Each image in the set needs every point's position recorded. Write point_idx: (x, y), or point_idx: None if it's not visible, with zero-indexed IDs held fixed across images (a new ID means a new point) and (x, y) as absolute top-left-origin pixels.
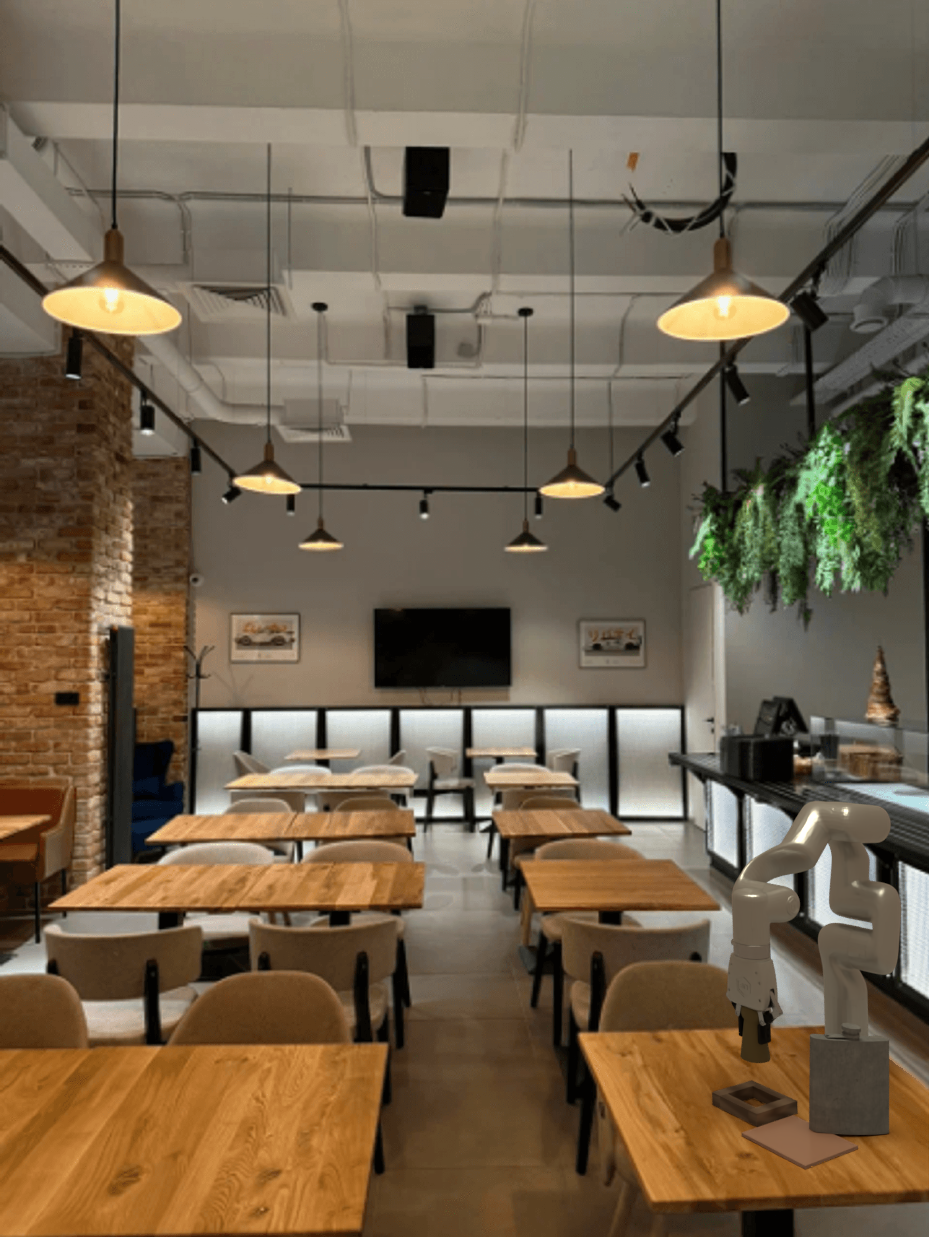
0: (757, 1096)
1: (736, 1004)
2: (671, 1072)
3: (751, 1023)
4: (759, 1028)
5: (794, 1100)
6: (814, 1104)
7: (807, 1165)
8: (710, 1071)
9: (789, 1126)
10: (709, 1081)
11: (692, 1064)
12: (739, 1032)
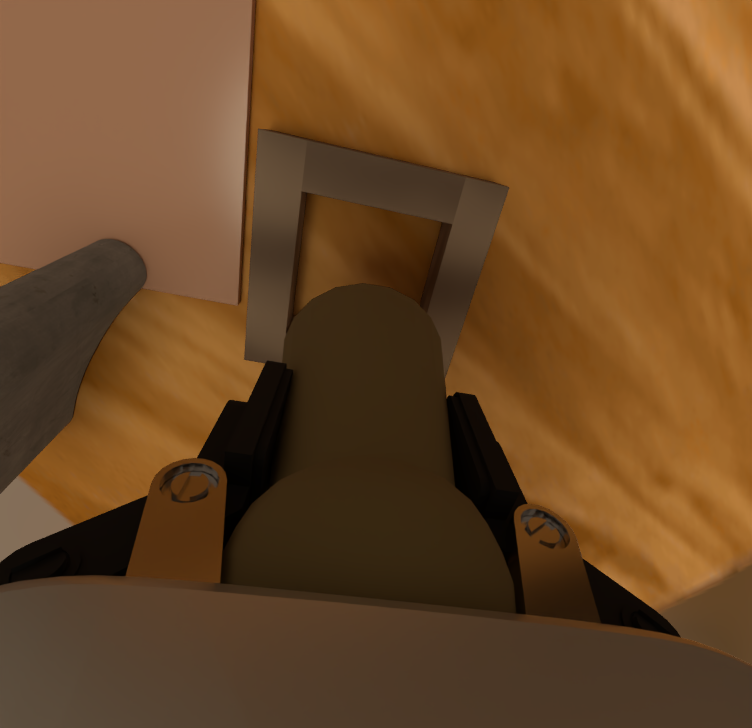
0: None
1: (599, 620)
2: (717, 314)
3: (332, 448)
4: (239, 428)
5: (252, 355)
6: (43, 268)
7: None
8: (600, 407)
9: (184, 211)
10: (577, 345)
11: (667, 411)
12: (470, 403)
